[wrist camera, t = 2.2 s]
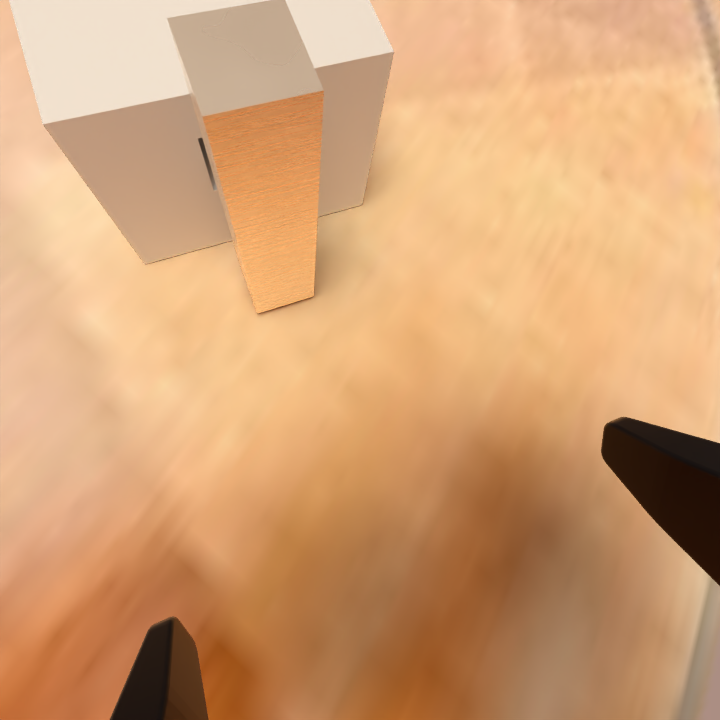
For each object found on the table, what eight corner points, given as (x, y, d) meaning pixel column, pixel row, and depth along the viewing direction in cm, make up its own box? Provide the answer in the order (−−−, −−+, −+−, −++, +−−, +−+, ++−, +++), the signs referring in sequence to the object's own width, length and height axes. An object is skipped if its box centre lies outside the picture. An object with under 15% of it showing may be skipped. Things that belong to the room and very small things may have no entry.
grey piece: (313, 296, 24) (323, 90, 11) (257, 313, 23) (202, 116, 11) (226, 67, 27) (158, -295, 14) (174, 77, 26) (56, -290, 14)
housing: (362, 204, 26) (394, 51, 17) (144, 264, 24) (42, 124, 14) (325, 118, 27) (336, -68, 18) (115, 167, 25) (3, -20, 16)
